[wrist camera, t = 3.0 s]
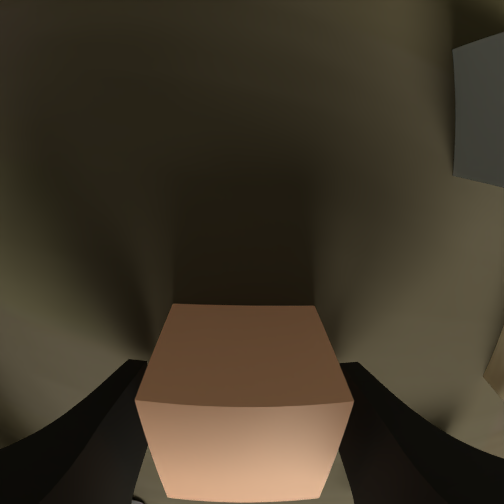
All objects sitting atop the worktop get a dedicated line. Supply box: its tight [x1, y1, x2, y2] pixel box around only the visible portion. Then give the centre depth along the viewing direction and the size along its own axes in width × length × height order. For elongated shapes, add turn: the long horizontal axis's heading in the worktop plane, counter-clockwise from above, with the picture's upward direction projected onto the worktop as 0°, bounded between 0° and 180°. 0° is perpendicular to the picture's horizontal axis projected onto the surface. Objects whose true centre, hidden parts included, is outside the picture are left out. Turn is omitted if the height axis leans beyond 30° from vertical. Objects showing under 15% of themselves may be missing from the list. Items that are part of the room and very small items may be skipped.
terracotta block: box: [135, 304, 354, 502], centre depth 9 cm, size 4×4×4 cm
